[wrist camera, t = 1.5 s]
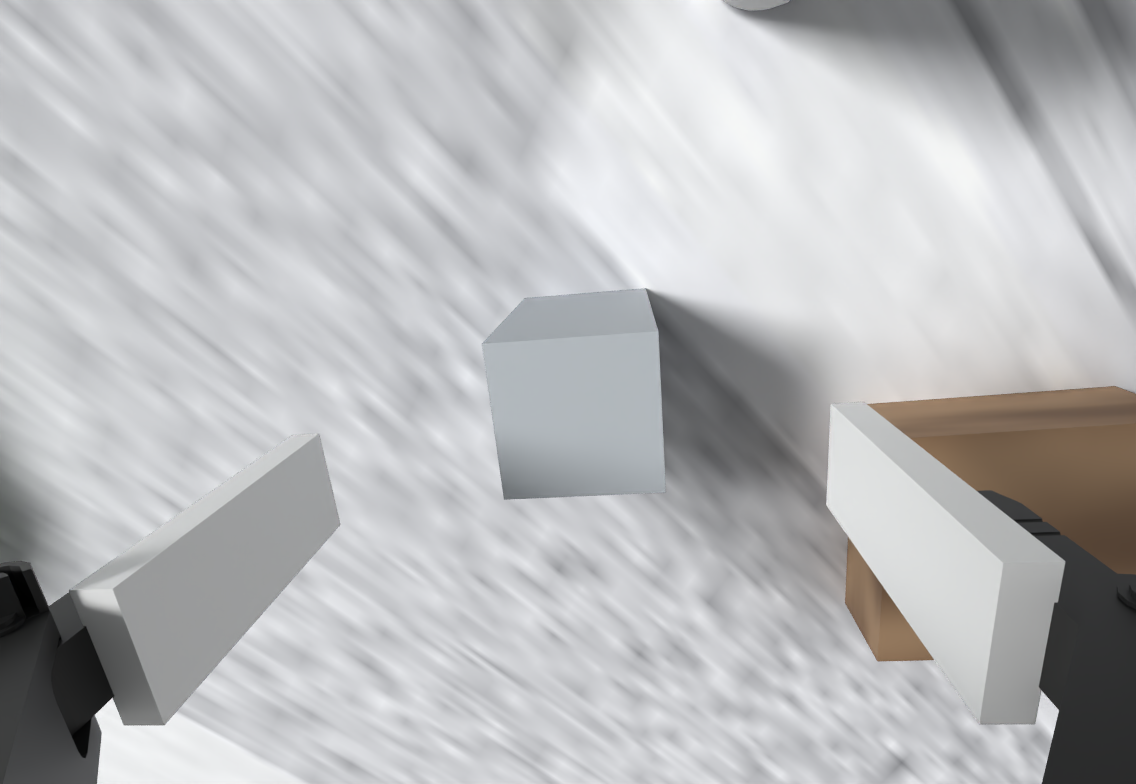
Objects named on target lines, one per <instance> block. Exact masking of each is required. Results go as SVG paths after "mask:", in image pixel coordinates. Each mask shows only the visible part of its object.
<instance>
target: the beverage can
mask: <svg viewBox="0 0 1136 784" xmlns="http://www.w3.org/2000/svg"><path fill="white" fill-rule="evenodd" d="M723 1H724V2H726V3H727V4H729V5H731V6H732V7H736V8H740V9H744V10H748V11H753V10H766V9H771V8H774V7H777V6H779V5H782V4H785V3H788V2H789V1H791V0H723Z"/></svg>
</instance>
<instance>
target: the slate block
mask: <svg viewBox="0 0 1136 784" xmlns="http://www.w3.org/2000/svg"><path fill="white" fill-rule="evenodd" d="M482 349H483V356H484V363H485V370H486V377H487V384H488V391H489V398H490V405H491V412H492V419H493V426H494V433H495V440H496V446H497V453H498V460H499V467H500V474H501V481H502V488H503V495H504V500H505V499H528V498H551V497H574V496H597V495H620V494H643V493H666V486H665V464H664V443H663V421H662V399H661V377H660V355H659V334H658V328H657V325H656V321H655V318H654V315H653V311H652V308H651V305H650V301H649V298H648V295H647V291H646V288H644V289H632V290H619V291H607V292H595V293H582V294H570V295H558V296H545V297H533V298H524V299H523V301H522V302H521V303H520V304H519V305H518V306H517V307H516V308H515V309H514V310H513V311H512V312H511V313H510V314H509V315H508V317H507V318H506V319H505V320H504V321H503V322H502V323H501V324H500V325H499V326H498V327H497V328H496V329H495V330H494V331H493V333H492V334H491V335H490V336H489V337H488V338H487V339H486V340H485V341H484V342H483V343H482Z"/></svg>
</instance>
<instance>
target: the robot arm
mask: <svg viewBox="0 0 1136 784" xmlns="http://www.w3.org/2000/svg"><path fill="white" fill-rule="evenodd" d="M826 506H827V507H828V508H829V510H830V511H831V513H832V514H833V516H834V517H835V518H836V520H837V521H838V523H839V524H840V526H841V527H842V528H843V530H844V531H845V533H846V534H847V536H848V537H849V539H850V540H851V541H852V543H853V544H854V546H855V547H856V549H857V550H858V551H859V553H860V554H861V556H862V557H863V559H864V560H865V561H866V563H867V564H868V566H869V567H870V569H871V570H872V571H873V573H874V574H875V576H876V577H877V579H878V580H879V582H880V583H881V584H882V586H883V587H884V589H885V590H886V592H887V593H888V594H889V596H890V597H891V599H892V600H893V602H894V603H895V604H896V606H897V607H898V609H899V610H900V612H901V613H902V614H903V616H904V617H905V619H906V620H907V622H908V623H909V624H910V626H911V627H912V629H913V630H914V632H915V633H916V635H917V636H918V637H919V639H920V640H921V642H922V643H923V645H924V646H925V647H926V649H927V650H928V652H929V653H930V655H931V656H932V657H933V659H934V660H935V662H936V663H937V665H938V666H939V667H940V669H941V670H942V672H943V673H944V675H945V676H946V678H947V679H948V680H949V682H950V683H951V685H952V686H953V688H954V689H955V690H956V692H957V693H958V695H959V696H960V698H961V699H962V700H963V702H964V703H965V705H966V706H967V708H968V709H969V710H970V712H971V713H972V715H973V716H974V718H975V719H976V721H977V722H978V723H979V724H1035V722H1036V717H1037V711H1038V706H1039V701H1040V695H1041V690H1042V691H1043V692H1044V693H1045V695H1046V696H1047V697H1048V698H1049V699H1050V700H1051V701H1052V703H1053V704H1054V705H1055V706H1056V707H1057V708H1058V709H1059V714H1058V718H1057V722H1056V726H1055V731H1054V735H1053V739H1052V743H1051V748H1050V752H1049V756H1048V760H1047V765H1046V769H1045V773H1044V777H1043V782H1042V784H1136V575H1135V574H1117V573H1116V572H1114V571H1113V570H1112V569H1110V568H1109V567H1108V566H1106V565H1105V564H1103V563H1102V562H1101V561H1099V560H1098V559H1097V558H1095V557H1094V556H1093V555H1091V554H1090V553H1088V552H1087V551H1086V550H1084V549H1083V548H1082V547H1080V546H1079V545H1078V544H1076V543H1075V542H1074V541H1072V540H1071V539H1069V538H1068V537H1067V536H1065V535H1061V534H1060V531H1059V530H1057V529H1056V528H1054V527H1053V526H1052V525H1050V524H1049V523H1048V522H1043V520H1042V518H1041V517H1039V516H1038V515H1037V514H1035V513H1034V512H1033V511H1031V510H1030V509H1029V508H1027V507H1026V506H1024V505H1023V504H1022V503H1020V502H1018V501H1015V500H1013V499H1011V498H1008V497H1006V496H1004V495H1001V494H999V493H997V492H994V491H992V490H984V491H976V490H975V489H973V488H972V487H971V486H970V485H968V484H967V483H966V482H965V481H963V480H962V479H961V478H959V477H958V476H957V475H956V474H954V473H953V472H952V471H951V470H949V469H948V468H947V467H946V466H944V465H943V464H942V463H940V462H939V461H938V460H937V459H935V458H934V457H933V456H932V455H930V454H929V453H928V452H927V451H925V450H924V449H923V448H922V447H920V446H919V445H918V444H916V443H915V442H914V441H913V440H911V439H910V438H909V437H908V436H906V435H905V434H904V433H903V432H901V431H900V430H899V429H898V428H896V427H895V426H894V425H892V424H891V423H890V422H889V421H887V420H886V419H885V418H884V417H882V416H881V415H880V414H879V413H877V412H876V411H875V410H874V409H872V408H871V407H870V406H868V405H867V404H866V403H865V402H852V403H835V404H831V410H830V433H829V455H828V478H827V501H826ZM339 526H340V520H339V516H338V512H337V508H336V503H335V499H334V495H333V490H332V486H331V482H330V478H329V473H328V469H327V465H326V461H325V456H324V452H323V448H322V444H321V439H320V435H319V434H302V435H292V436H290V437H289V438H287V439H286V440H284V441H283V442H281V443H280V444H279V445H277V446H276V447H274V448H273V449H271V450H270V451H268V452H267V453H266V454H264V455H263V456H261V457H260V458H258V459H257V460H256V461H254V462H253V463H251V464H250V465H248V466H247V467H245V468H244V469H243V470H241V471H240V472H238V473H237V474H235V475H234V476H233V477H231V478H230V479H228V480H227V481H225V482H224V483H222V484H221V485H220V486H218V487H217V488H215V489H214V490H212V491H211V492H210V493H208V494H207V495H205V496H204V497H202V498H201V499H199V500H198V501H197V502H195V503H194V504H192V505H191V506H189V507H188V508H187V509H185V510H184V511H182V512H181V513H179V514H178V515H176V516H175V517H174V518H172V519H171V520H169V521H168V522H166V523H165V524H163V525H162V526H161V527H159V528H158V529H156V530H155V531H153V532H152V533H151V534H149V535H148V536H146V537H145V538H143V539H142V540H140V541H139V542H138V543H136V544H135V545H133V546H132V547H130V548H129V549H128V550H126V551H125V552H123V553H122V554H120V555H119V556H117V557H116V558H115V559H113V560H112V561H110V562H109V563H107V564H106V565H105V566H103V567H102V568H100V569H99V570H97V571H96V572H94V573H93V574H92V575H90V576H89V577H87V578H86V579H84V580H83V581H81V582H80V583H79V584H77V585H76V586H74V587H73V588H71V589H70V590H69V593H67V594H66V595H64V596H63V597H62V598H60V599H59V600H57V601H56V602H54V603H53V604H52V605H50V606H48V604H47V602H46V599H45V597H44V595H43V592H42V590H41V587H40V585H39V583H38V580H37V578H36V576H35V573H34V571H33V569H32V566H31V564H30V563H27V562H23V561H17V562H7V563H2V564H0V784H97V776H98V765H99V755H100V744H101V730H100V727H99V725H98V722H97V720H96V717H95V714H96V713H97V712H98V711H99V710H100V709H101V708H102V707H103V706H104V705H105V704H106V703H107V702H108V701H109V700H110V699H111V698H112V697H113V700H114V702H115V705H116V707H117V710H118V712H119V714H120V717H121V719H122V722H123V724H124V725H165V724H166V723H167V722H168V721H169V719H170V718H171V717H172V716H173V715H174V714H175V713H176V712H177V710H178V709H179V708H180V707H181V706H182V705H183V704H184V702H185V701H186V700H187V699H188V698H189V697H190V696H191V694H192V693H193V692H194V691H195V690H196V689H197V688H198V686H199V685H200V684H201V683H202V682H203V681H204V680H205V679H206V677H207V676H208V675H209V674H210V673H211V672H212V671H213V669H214V668H215V667H216V666H217V665H218V664H219V663H220V661H221V660H222V659H223V658H224V657H225V656H226V655H227V653H228V652H229V651H230V650H231V649H232V648H233V647H234V645H235V644H236V643H237V642H238V641H239V640H240V639H241V638H242V636H243V635H244V634H245V633H246V632H247V631H248V630H249V628H250V627H251V626H252V625H253V624H254V623H255V622H256V620H257V619H258V618H259V617H260V616H261V615H262V614H263V612H264V611H265V610H266V609H267V608H268V607H269V606H270V605H271V603H272V602H273V601H274V600H275V599H276V598H277V597H278V595H279V594H280V593H281V592H282V591H283V590H284V589H285V587H286V586H287V585H288V584H289V583H290V582H291V581H292V579H293V578H294V577H295V576H296V575H297V574H298V573H299V571H300V570H301V569H302V568H303V567H304V566H305V565H306V564H307V562H308V561H309V560H310V559H311V558H312V557H313V556H314V554H315V553H316V552H317V551H318V550H319V549H320V548H321V546H322V545H323V544H324V543H325V542H326V541H327V540H328V538H329V537H330V536H331V535H332V534H333V533H334V532H335V531H336V529H337V528H338V527H339Z"/></svg>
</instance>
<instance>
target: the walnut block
mask: <svg viewBox="0 0 1136 784" xmlns="http://www.w3.org/2000/svg"><path fill="white" fill-rule="evenodd" d="M867 405H868V406H870V407H871V408H872V409H874V410H875V411H876V412H877V413H879V414H880V415H881V416H882V417H884V418H885V419H886V420H887V421H889V422H890V423H891V424H892V425H894V426H895V427H896V428H898V429H899V430H900V431H901V432H903V433H904V434H905V435H906V436H908V437H909V438H910V439H911V440H913V441H914V442H915V443H916V444H918V445H919V446H920V447H922V448H923V449H924V450H925V451H927V452H928V453H929V454H930V455H932V456H933V457H934V458H935V459H937V460H938V461H939V462H940V463H942V464H943V465H944V466H946V467H947V468H948V469H949V470H951V471H952V472H953V473H954V474H956V475H957V476H958V477H959V478H961V479H962V480H963V481H965V482H966V483H967V484H968V485H970V486H971V487H972V488H973V489H975V490H976V491H984V490H992V491H994V492H997V493H999V494H1001V495H1004V496H1006V497H1008V498H1011V499H1013V500H1015V501H1018V502H1020V503H1022V504H1023V505H1024V506H1026V507H1027V508H1029V509H1030V510H1031V511H1033V512H1034V513H1035V514H1037V515H1038V516H1039V517H1041V518H1042V520H1043V522H1048V523H1049V524H1050V525H1052V526H1053V527H1054V528H1056V529H1057V530H1059V531H1060V534H1061V535H1065V536H1067V537H1068V538H1069V539H1071V540H1072V541H1074V542H1075V543H1076V544H1078V545H1079V546H1080V547H1082V548H1083V549H1084V550H1086V551H1087V552H1088V553H1090V554H1091V555H1093V556H1094V557H1095V558H1097V559H1098V560H1099V561H1101V562H1102V563H1103V564H1105V565H1106V566H1108V567H1109V568H1110V569H1112V570H1113V571H1114V572H1116V573H1117V574H1135V575H1136V394H1134V393H1132V392H1129V391H1127V390H1124V389H1121V388H1119V387H1116V386H1111V387H1097V388H1084V389H1070V390H1056V391H1042V392H1028V393H1015V394H1001V395H987V396H973V397H959V398H946V399H932V400H918V401H904V402H890V403H877V404H867ZM845 604H846V605H847V607H848V609H849V611H850V613H851V614H852V616H853V618H854V620H855V622H856V624H857V625H858V627H859V629H860V631H861V633H862V634H863V636H864V638H865V640H866V642H867V643H868V645H869V647H870V649H871V651H872V652H873V654H874V656H875V658H876V660H877V661H914V660H934V659H933V657H932V656H931V655H930V653H929V652H928V650H927V649H926V647H925V646H924V645H923V643H922V642H921V640H920V639H919V637H918V636H917V635H916V633H915V632H914V630H913V629H912V627H911V626H910V624H909V623H908V622H907V620H906V619H905V617H904V616H903V614H902V613H901V612H900V610H899V609H898V607H897V606H896V604H895V603H894V602H893V600H892V599H891V597H890V596H889V594H888V593H887V592H886V590H885V589H884V587H883V586H882V584H881V583H880V582H879V580H878V579H877V577H876V576H875V574H874V573H873V571H872V570H871V569H870V567H869V566H868V564H867V563H866V561H865V560H864V559H863V557H862V556H861V554H860V553H859V551H858V550H857V549H856V547H855V546H854V544H853V543H852V541H851V540H850V539H849V537H848V551H847V574H846V596H845Z"/></svg>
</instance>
